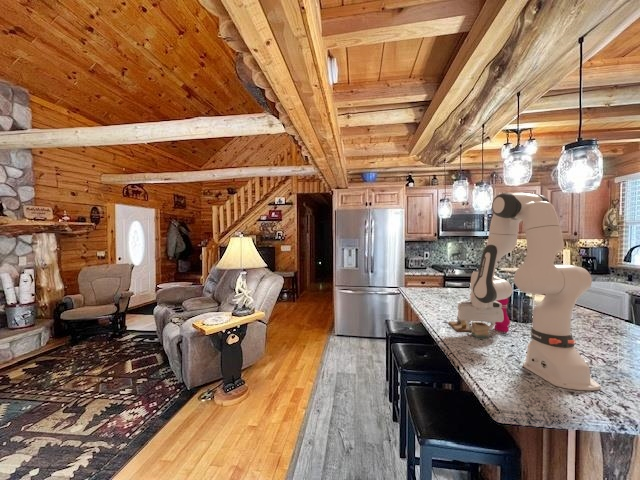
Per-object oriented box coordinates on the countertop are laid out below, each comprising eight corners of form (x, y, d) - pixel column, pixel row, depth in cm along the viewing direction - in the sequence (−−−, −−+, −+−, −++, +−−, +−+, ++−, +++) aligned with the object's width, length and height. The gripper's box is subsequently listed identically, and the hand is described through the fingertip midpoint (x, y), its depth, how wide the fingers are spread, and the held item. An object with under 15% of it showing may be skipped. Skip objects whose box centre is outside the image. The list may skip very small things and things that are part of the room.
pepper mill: (505, 327, 154) (505, 290, 153) (512, 332, 146) (513, 293, 146) (490, 327, 154) (491, 290, 154) (497, 331, 147) (498, 293, 147)
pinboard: (475, 332, 146) (475, 322, 146) (457, 331, 148) (457, 322, 148) (465, 323, 160) (465, 315, 160) (448, 323, 162) (448, 314, 162)
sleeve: (488, 338, 138) (488, 325, 138) (476, 337, 139) (476, 325, 139) (483, 334, 144) (483, 322, 144) (471, 333, 145) (471, 321, 145)
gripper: (460, 303, 140) (459, 330, 140) (505, 304, 137) (505, 332, 137) (456, 299, 146) (455, 326, 147) (499, 301, 143) (498, 328, 144)
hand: (479, 329), depth 142 cm, fingers open, 8 cm apart
